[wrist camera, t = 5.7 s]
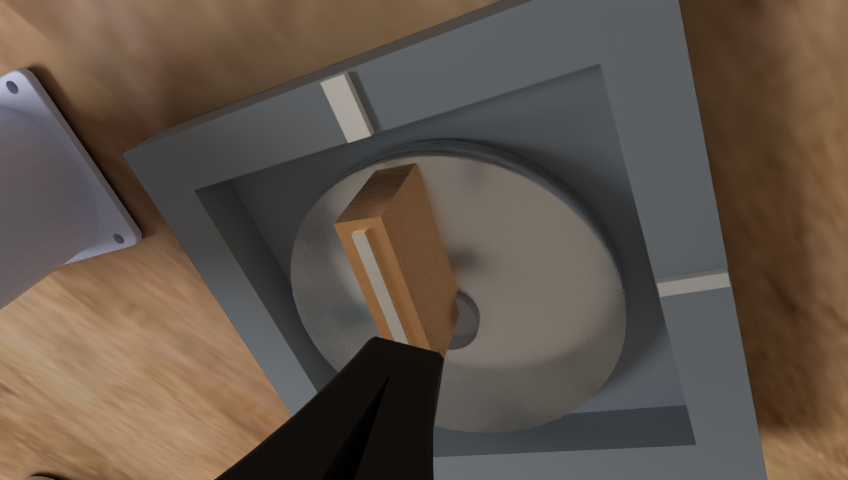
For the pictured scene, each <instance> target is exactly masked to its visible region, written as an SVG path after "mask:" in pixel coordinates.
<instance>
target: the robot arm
mask: <svg viewBox="0 0 848 480" xmlns="http://www.w3.org/2000/svg"><path fill="white" fill-rule="evenodd" d="M16 85H17V86H16ZM141 239H142V233H141V231H140V229H139V228H138V227H137V225H136V224H135V222H134V221H133V219H132V218H131V216H130V215H129V213H128V212H127V210H126V209H125V207H124V206H123V204H122V203H121V201H120V200H119V199H118V197H117V196H116V194H115V193H114V191H113V190H112V188H111V187H110V185H109V184H108V182H107V181H106V179H105V178H104V176H103V175H102V173H101V172H100V171H99V169H98V168H97V166H96V165H95V163H94V162H93V160H92V159H91V157H90V156H89V154H88V153H87V151H86V150H85V148H84V147H83V145H82V144H81V143H80V141H79V140H78V138H77V137H76V135H75V134H74V132H73V131H72V129H71V128H70V126H69V125H68V123H67V122H66V120H65V119H64V117H63V116H62V115H61V113H60V112H59V110H58V109H57V107H56V106H55V104H54V103H53V101H52V100H51V98H50V97H49V95H48V94H47V92H46V91H45V89H44V88H43V87H42V85H41V84H40V82H39V81H38V79H37V78H36V76H35V75H34V74H33V73H32V72H31V71H29V70H28V69H25V68H19V69H16V70H13V71H11V72H9V73H7V74H5V75H3V76H1V77H0V310H1V309H2V308H3V307H5V306H6V305H8V304H9V303H10V302H12V301H13V300H15V299H16V298H17V297H19V296H20V295H22V294H23V293H24V292H26V291H27V290H28V289H30V288H31V287H33V286H34V285H35V284H37V283H38V282H40V281H41V280H42V279H44V278H45V277H47V276H48V275H49V274H51V273H52V272H54V271H55V270H56V269H58V268H59V267H61V266H62V265H65V264H69V263H72V262H76V261H80V260H83V259H87V258H90V257H94V256H98V255H101V254H105V253H109V252H112V251H116V250H119V249H123V248H127V247H130V246H134V245H136V244H137V243H138V242H139V241H141ZM443 366H444V358H443V357H442V355H441V354H440V353H439V352H435V351H431V350H427V349H423V348H419V347H416V346H412V345H408V344H404V343H400V342H396V341H392V340H388V339H385V338H381V337H377V336H375V337H373V338H371V339H369V340H368V341H367V342H366V344H365V345H364V346H363V347H362V348H361V349H360V350H359V351H358V353H357V354H356V355H355V356H354V357H353V358H352V359H351V360H350V361H349V362H348V363H347V364H346V365H345V366H344V367H343V369H342V370H341V371H340V372H339V373H338V374H337V375H336V376H335V377H334V378H333V379H332V380H331V381H330V382H329V383H328V384H327V385H326V386H325V387H324V388H323V389H321V390H320V391H319V392H318V393H317V394H316V395H315V396H314V397H313V398H312V399H311V400H310V401H309V402H308V403H306V404H305V405H304V406H303V407H302V408H301V409H300V410H299V411H298V412H297V413H296V414H295V415H294V416H292V417H291V418H290V419H289V420H288V421H287V422H286V423H284V424H283V425H282V426H281V427H280V428H278V429H277V430H276V431H275V432H274V433H273V434H271V435H270V436H269V437H268V438H267V439H265V440H264V441H263V442H262V443H261V444H259V445H258V446H257V447H256V448H255V449H254V450H252V451H251V452H250V453H249V454H247V455H246V456H245V457H244V458H242V459H241V460H240V461H238V462H237V463H236V464H235V465H233V466H232V467H231V468H229V469H228V470H227V471H225V472H224V473H223V474H221V475H220V476H219V477H217V478H216V479H214V480H434V470H433V428H434V423H435V417H436V410H437V404H438V398H439V391H440V385H441V378H442V372H443Z"/></svg>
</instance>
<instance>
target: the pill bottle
mask: <svg viewBox="0 0 848 480" xmlns="http://www.w3.org/2000/svg"><path fill="white" fill-rule="evenodd" d="M22 480H55V479H51V478H47V477H41V476H33V477H27V478H24V479H22Z"/></svg>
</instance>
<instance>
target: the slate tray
mask: <svg viewBox="0 0 848 480" xmlns="http://www.w3.org/2000/svg"><path fill="white" fill-rule="evenodd" d="M428 140H455V141H463V142H471V143H478V144H482V145H486V146H490V147H494V148H498V149H502V150H504V151H507V152H509V153H512V154H515V155H517V156H520V157H523V158H525V159H527V160H529V161H531V162H532V163H534V164H536V165H538V166H540V167H542V168H544V169H546V170H547V171H549V172H550V173H552V174H553V175H554V176H556V177H557V178H559V179H560V180H562V181H563V182H564V183H566V184H567V185H568V186H569V187H570V188H571V189H573V190H574V191H575V192H576V193H577V194H578V195H579V196H580V197H581V198H582V199H583V200H584V201H585V202H586V203H587V204H588V205H589V206H590V208H591V209H592V210H593V211H594V212H595V214H596V215H597V216H598V217H599V219H600V220H601V222H602V224H603V225H604V227H605V228H606V230H607V232H608V233H609V235H610V236H611V239H612V241H613V243H614V246H615V248H616V250H617V253H618V255H619V258H620V262H621V266H622V270H623V274H624V284H625V297H626V331H625V340H624V343H623V347H622V350H621V354H620V357H619V359H618V361H617V363H616V365H615V367H614V369H613V372H612V373H611V375H610V376H609V377H608V379H607V380H606V382H605V383H604V384H603V386H602V387H601V388H600V389H599V390H598V391H597V392H596V393H595V394H594V395H593V396H592V397H591V398H590V399H589V400H588V401H586V402H585V403H583V404H582V405H581V406H579V407H578V408H577V409H575V410H574V411H572V412H570V413H568V414H566V415H564V416H563V417H561V418H559V419H556V420H554V421H551V422H548V423H546V424H543V425H540V426H536V427H532V428H528V429H524V430H518V431H511V432H499V433H477V432H464V431H457V430H450V429H446V428H441V427H437V426H434V428H433V470H434V480H768V479H767V473H766V468H765V462H764V457H763V452H762V446H761V441H760V436H759V430H758V425H757V419H756V414H755V409H754V403H753V398H752V393H751V387H750V382H749V376H748V371H747V366H746V360H745V355H744V350H743V344H742V339H741V333H740V328H739V323H738V317H737V312H736V306H735V301H734V296H733V290H732V285H731V280H730V274H729V269H728V263H727V258H726V253H725V247H724V242H723V237H722V231H721V226H720V220H719V215H718V210H717V204H716V199H715V193H714V188H713V183H712V177H711V172H710V167H709V161H708V156H707V150H706V145H705V140H704V134H703V129H702V124H701V118H700V113H699V107H698V102H697V97H696V91H695V86H694V81H693V75H692V70H691V64H690V59H689V54H688V48H687V43H686V37H685V32H684V27H683V21H682V16H681V11H680V5H679V0H501V1H498V2H496V3H493V4H491V5H488V6H485V7H483V8H480V9H478V10H475V11H472V12H470V13H467V14H464V15H462V16H459V17H457V18H454V19H451V20H449V21H446V22H444V23H441V24H438V25H436V26H433V27H431V28H428V29H425V30H423V31H420V32H417V33H415V34H412V35H410V36H407V37H404V38H402V39H399V40H397V41H394V42H391V43H389V44H386V45H383V46H381V47H378V48H376V49H373V50H370V51H368V52H365V53H363V54H360V55H357V56H355V57H352V58H349V59H347V60H344V61H342V62H339V63H336V64H334V65H331V66H329V67H326V68H323V69H321V70H318V71H315V72H313V73H310V74H308V75H305V76H302V77H300V78H297V79H295V80H292V81H289V82H287V83H284V84H281V85H279V86H276V87H274V88H271V89H268V90H266V91H263V92H261V93H258V94H255V95H253V96H250V97H247V98H245V99H242V100H240V101H237V102H234V103H232V104H229V105H227V106H224V107H221V108H219V109H216V110H213V111H211V112H208V113H206V114H203V115H200V116H198V117H195V118H193V119H190V120H187V121H185V122H182V123H179V124H177V125H174V126H172V127H169V128H166V129H164V130H162V131H161V132H159V133H157V134H155V135H154V136H152V137H150V138H148V139H147V140H145V141H143V142H141V143H140V144H138V145H136V146H135V147H133V148H131V149H129V150H128V151H126V152H124V153H122V156H123V157H124V159H125V160H126V162H127V163H128V165H129V166H130V168H131V169H132V171H133V172H134V174H135V175H136V177H137V179H138V180H139V182H140V183H141V185H142V186H143V188H144V189H145V191H146V192H147V194H148V195H149V197H150V198H151V200H152V202H153V203H154V205H155V206H156V208H157V209H158V211H159V212H160V214H161V215H162V217H163V218H164V220H165V221H166V223H167V225H168V226H169V228H170V229H171V231H172V232H173V234H174V235H175V237H176V238H177V240H178V241H179V243H180V244H181V246H182V248H183V249H184V251H185V252H186V254H187V255H188V257H189V258H190V260H191V261H192V263H193V264H194V266H195V267H196V269H197V271H198V272H199V274H200V275H201V277H202V278H203V280H204V281H205V283H206V284H207V286H208V287H209V289H210V290H211V292H212V294H213V295H214V297H215V298H216V300H217V301H218V303H219V304H220V306H221V307H222V309H223V310H224V312H225V313H226V315H227V317H228V318H229V320H230V321H231V323H232V324H233V326H234V327H235V329H236V330H237V332H238V333H239V335H240V336H241V338H242V340H243V341H244V343H245V344H246V346H247V347H248V349H249V350H250V352H251V353H252V355H253V356H254V358H255V359H256V361H257V363H258V364H259V366H260V367H261V369H262V370H263V372H264V373H265V375H266V376H267V378H268V379H269V381H270V382H271V384H272V386H273V387H274V389H275V390H276V392H277V393H278V395H279V396H280V398H281V399H282V401H283V402H284V404H285V405H286V407H287V409H288V410H289V412H290V413H291V415H292V416H294V415H295V414H296V413H297V412H298V411H299V410H300V409H301V408H302V407H303V406H304V405H305V404H306V403H308V402H309V401H310V400H311V399H312V398H313V397H314V396H315V395H316V394H317V393H318V392H319V391H320V390H321V389H323V388H324V387H325V386H326V385H327V384H328V383H329V382H330V381H331V380H332V379H333V378H334V377H335V376H336V375H337V374H338V372H337V371H336V370H335V369H334V368H333V367H332V366H331V364H330V363H329V362H328V361H327V360H326V359H325V358H324V357H323V355H322V354H321V353H320V351H319V350H318V348H317V347H316V346H315V344H314V343H313V341H312V340H311V338H310V336H309V334H308V333H307V331H306V329H305V327H304V325H303V323H302V321H301V318H300V316H299V313H298V311H297V308H296V304H295V301H294V297H293V293H292V285H291V277H290V276H291V257H292V251H293V246H294V242H295V239H296V236H297V234H298V231H299V228H300V226H301V224H302V223H303V221H304V219H305V217H306V216H307V214H308V212H309V211H310V210H311V209H312V207H313V206H314V205H315V204H316V202H317V201H318V200H319V199H320V198H321V196H322V195H323V194H324V193H325V192H326V191H327V190H328V189H329V187H330V186H331V185H332V184H333V183H334V182H335V181H336V180H337V179H338V178H339V177H340V176H341V175H342V174H344V173H345V172H346V171H347V170H348V169H349V168H351V167H352V166H354V165H355V164H357V163H358V162H360V161H362V160H363V159H365V158H366V157H369V156H371V155H373V154H375V153H378V152H380V151H382V150H385V149H388V148H391V147H395V146H399V145H402V144H406V143H413V142H420V141H428Z"/></svg>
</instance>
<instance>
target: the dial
mask: <svg viewBox="0 0 848 480" xmlns="http://www.w3.org/2000/svg"><path fill="white" fill-rule="evenodd" d="M290 277H291V285H292V293H293V297H294V301H295V304H296V308H297V311H298V313H299V316H300V318H301V321H302V323H303V325H304V327H305V329H306V331H307V333H308V334H309V336H310V338H311V340H312V341H313V343H314V344H315V346H316V347H317V348H318V350H319V351H320V353H321V354H322V355H323V357H324V358H325V359H326V360H327V361H328V362H329V363H330V364H331V366H332V367H333V368H334V369H335V370H336V371H337V372H338V373H339V372H340V371H341V370H342V369H343V367H344V366H345V365H346V364H347V363H348V362H349V361H350V360H351V359H352V358H353V357H354V356H355V355H356V354H357V353H358V351H359V350H360V349H361V348H362V347H363V346H364V345H365V344H366V342H367V341H368V340H369V339H371V338H373V337H375V336H377V337H381V338H385V339H388V340H392V341H396V342H400V343H404V344H408V345H412V346H416V347H419V348H423V349H427V350H431V351H435V352H439V353H440V354H441V355H442V357H443V358H444V366H443V372H442V378H441V385H440V391H439V398H438V404H437V410H436V417H435V423H434V426H437V427H441V428H446V429H450V430H457V431H464V432H477V433H499V432H511V431H518V430H524V429H528V428H532V427H536V426H540V425H543V424H546V423H548V422H551V421H554V420H556V419H559V418H561V417H563V416H564V415H566V414H568V413H570V412H572V411H574V410H575V409H577V408H578V407H579V406H581V405H582V404H583V403H585V402H586V401H588V400H589V399H590V398H591V397H592V396H593V395H594V394H595V393H596V392H597V391H598V390H599V389H600V388H601V387H602V386H603V384H604V383H605V382H606V380H607V379H608V377H609V376H610V375H611V373H612V372H613V369H614V367H615V365H616V363H617V361H618V359H619V357H620V354H621V350H622V347H623V343H624V340H625V331H626V297H625V284H624V274H623V270H622V266H621V262H620V258H619V255H618V253H617V250H616V248H615V246H614V243H613V241H612V239H611V236H610V235H609V233H608V232H607V230H606V228H605V227H604V225H603V224H602V222H601V220H600V219H599V217H598V216H597V215H596V214H595V212H594V211H593V210H592V209H591V208H590V206H589V205H588V204H587V203H586V202H585V201H584V200H583V199H582V198H581V197H580V196H579V195H578V194H577V193H576V192H575V191H574V190H573V189H571V188H570V187H569V186H568V185H567V184H566V183H564V182H563V181H562V180H560V179H559V178H557V177H556V176H554V175H553V174H552V173H550V172H549V171H547V170H546V169H544V168H542V167H540V166H538V165H536V164H534V163H532V162H531V161H529V160H527V159H525V158H523V157H520V156H517V155H515V154H512V153H509V152H507V151H504V150H502V149H498V148H494V147H490V146H486V145H482V144H478V143H471V142H463V141H455V140H428V141H420V142H413V143H406V144H402V145H399V146H395V147H391V148H388V149H385V150H382V151H380V152H378V153H375V154H373V155H371V156H369V157H366V158H365V159H363V160H362V161H360V162H358V163H357V164H355V165H354V166H352V167H351V168H349V169H348V170H347V171H346V172H345V173H344V174H342V175H341V176H340V177H339V178H338V179H337V180H336V181H335V182H334V183H333V184H332V185H331V186H330V187H329V189H328V190H327V191H326V192H325V193H324V194H323V195H322V196H321V198H320V199H319V200H318V201H317V202H316V204H315V205H314V206H313V207H312V209H311V210H310V211H309V212H308V214H307V216H306V217H305V219H304V221H303V223H302V224H301V226H300V228H299V231H298V234H297V236H296V239H295V242H294V246H293V251H292V257H291V276H290Z"/></svg>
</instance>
